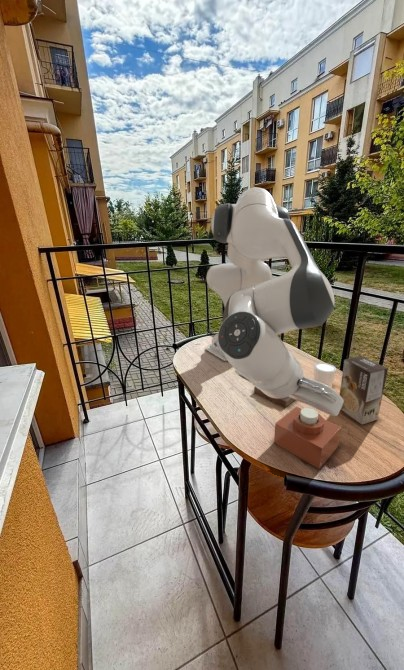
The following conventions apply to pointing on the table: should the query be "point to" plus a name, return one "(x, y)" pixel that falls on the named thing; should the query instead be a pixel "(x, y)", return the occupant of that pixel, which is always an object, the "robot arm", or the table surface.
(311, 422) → the white push button
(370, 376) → the coffee box
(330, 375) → the white cylinder
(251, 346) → the robot arm
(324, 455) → the push button box
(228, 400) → the table surface
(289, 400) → the switch block
